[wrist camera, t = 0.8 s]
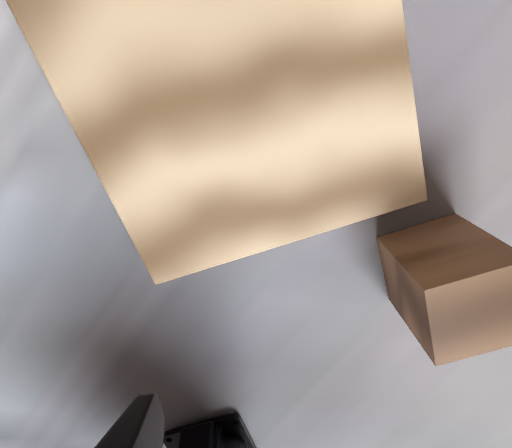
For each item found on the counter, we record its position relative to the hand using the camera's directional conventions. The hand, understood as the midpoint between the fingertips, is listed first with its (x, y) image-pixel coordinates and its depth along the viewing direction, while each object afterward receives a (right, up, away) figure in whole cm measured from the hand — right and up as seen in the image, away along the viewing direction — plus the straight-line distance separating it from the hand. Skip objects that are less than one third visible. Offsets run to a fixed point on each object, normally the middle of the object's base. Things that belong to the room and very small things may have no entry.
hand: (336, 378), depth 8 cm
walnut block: (+9, +2, +14) cm, 16 cm away
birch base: (-3, +10, +9) cm, 14 cm away
